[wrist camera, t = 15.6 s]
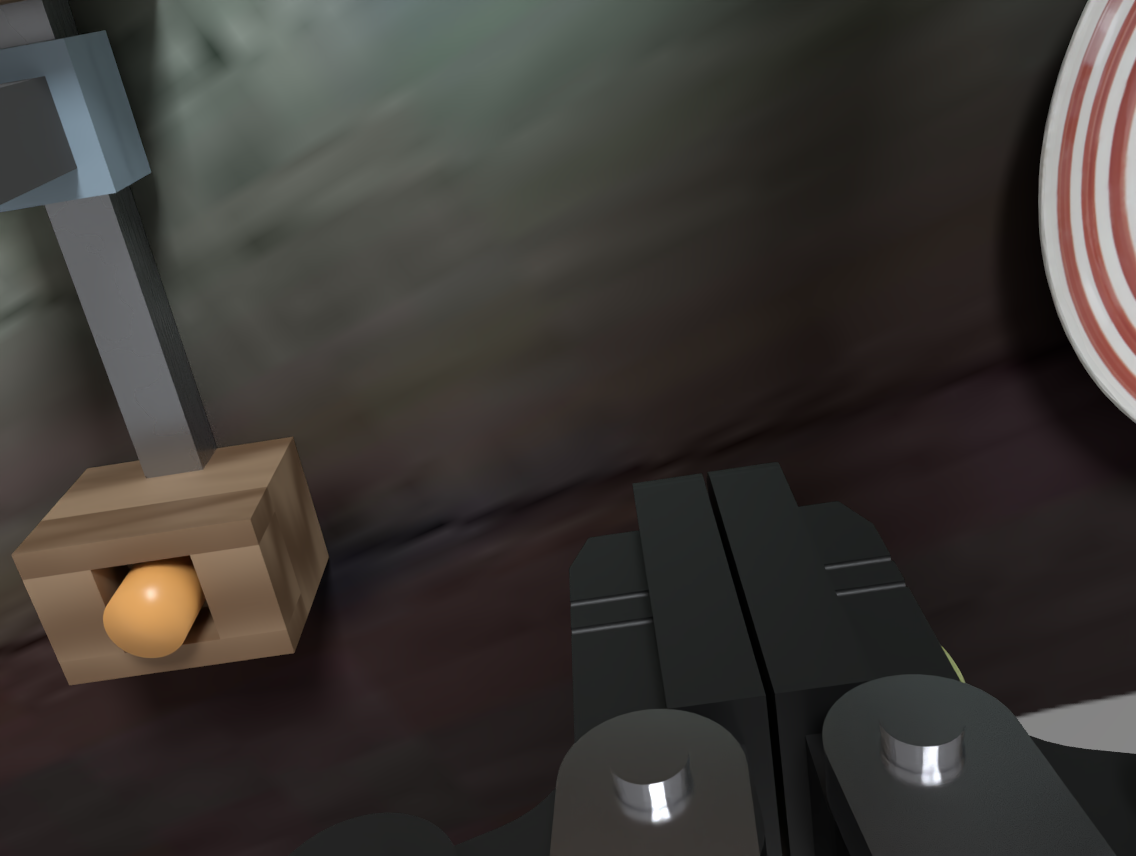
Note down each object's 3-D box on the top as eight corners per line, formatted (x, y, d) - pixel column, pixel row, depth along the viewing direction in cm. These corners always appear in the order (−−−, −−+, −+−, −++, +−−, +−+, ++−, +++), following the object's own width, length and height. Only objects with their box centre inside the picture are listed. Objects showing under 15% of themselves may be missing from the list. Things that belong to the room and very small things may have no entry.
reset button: (126, 545, 41) (90, 596, 38) (201, 534, 41) (171, 584, 38) (151, 609, 42) (119, 663, 39) (223, 598, 42) (197, 652, 39)
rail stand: (-138, -102, 36) (-287, -112, 29) (117, -149, 35) (23, -170, 29) (133, 585, 47) (69, 685, 41) (329, 556, 47) (294, 652, 41)
